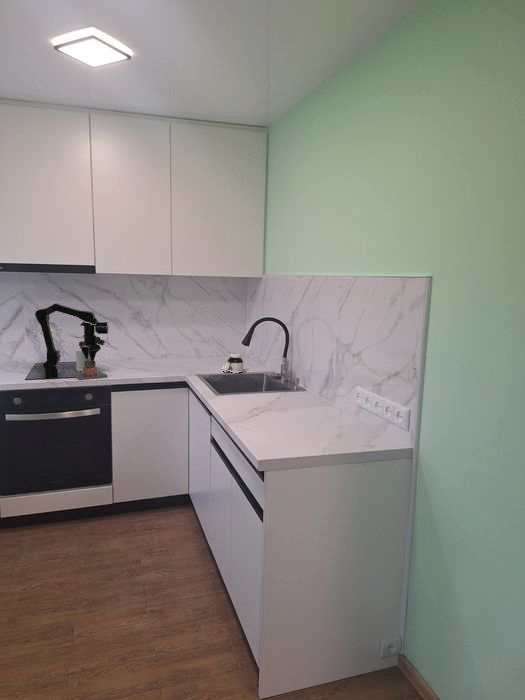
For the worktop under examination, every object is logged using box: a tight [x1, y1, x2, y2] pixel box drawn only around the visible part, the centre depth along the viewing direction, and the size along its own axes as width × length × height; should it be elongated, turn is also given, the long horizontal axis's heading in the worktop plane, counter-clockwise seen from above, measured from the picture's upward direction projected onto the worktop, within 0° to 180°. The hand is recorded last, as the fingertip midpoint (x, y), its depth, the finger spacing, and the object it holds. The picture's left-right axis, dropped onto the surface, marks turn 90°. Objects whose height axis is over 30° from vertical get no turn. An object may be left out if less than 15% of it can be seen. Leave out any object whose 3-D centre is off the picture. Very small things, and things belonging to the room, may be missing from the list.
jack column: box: [85, 360, 96, 368], centre depth 280 cm, size 5×4×8 cm
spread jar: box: [221, 353, 244, 372], centre depth 308 cm, size 12×11×12 cm
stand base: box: [72, 365, 108, 381], centre depth 280 cm, size 16×12×6 cm
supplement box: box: [75, 349, 91, 373], centre depth 298 cm, size 7×7×13 cm
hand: (89, 360), depth 280 cm, fingers open, 9 cm apart
